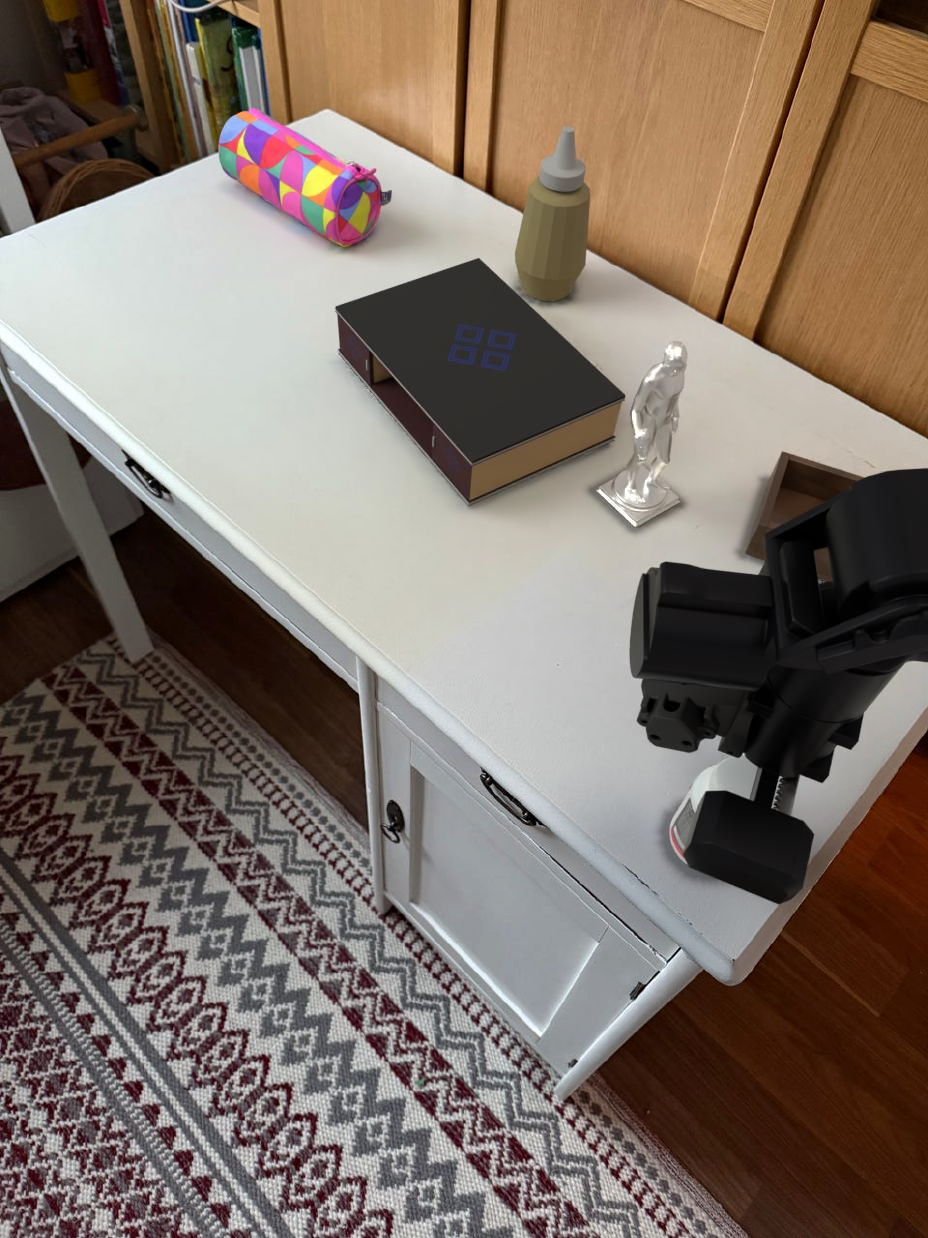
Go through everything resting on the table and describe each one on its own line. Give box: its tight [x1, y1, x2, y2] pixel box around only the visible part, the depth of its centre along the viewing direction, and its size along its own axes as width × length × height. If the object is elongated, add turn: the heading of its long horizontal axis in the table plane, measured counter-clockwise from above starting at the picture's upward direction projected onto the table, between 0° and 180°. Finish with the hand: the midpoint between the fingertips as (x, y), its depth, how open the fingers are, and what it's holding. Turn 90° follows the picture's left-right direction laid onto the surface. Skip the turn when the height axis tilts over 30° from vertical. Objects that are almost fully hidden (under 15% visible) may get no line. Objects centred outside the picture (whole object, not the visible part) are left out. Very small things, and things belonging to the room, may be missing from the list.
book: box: [334, 257, 626, 508], centre depth 90 cm, size 17×25×7 cm
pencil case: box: [217, 107, 393, 248], centre depth 108 cm, size 22×9×9 cm, turn 51°
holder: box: [744, 450, 866, 582], centre depth 83 cm, size 10×10×4 cm
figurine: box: [595, 340, 689, 528], centre depth 79 cm, size 8×7×18 cm
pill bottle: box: [669, 755, 758, 866], centre depth 63 cm, size 5×5×10 cm
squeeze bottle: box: [514, 125, 591, 302], centre depth 98 cm, size 8×8×18 cm
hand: (734, 798), depth 61 cm, fingers open, 9 cm apart
